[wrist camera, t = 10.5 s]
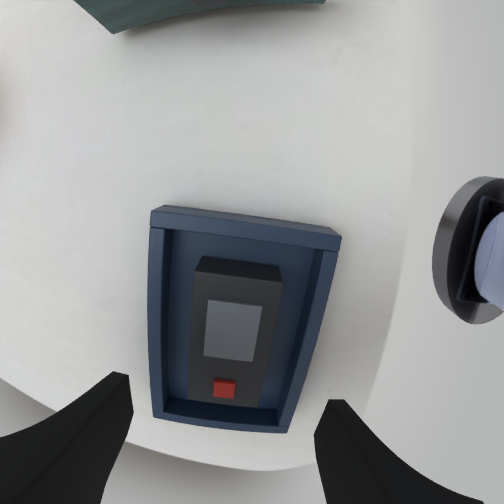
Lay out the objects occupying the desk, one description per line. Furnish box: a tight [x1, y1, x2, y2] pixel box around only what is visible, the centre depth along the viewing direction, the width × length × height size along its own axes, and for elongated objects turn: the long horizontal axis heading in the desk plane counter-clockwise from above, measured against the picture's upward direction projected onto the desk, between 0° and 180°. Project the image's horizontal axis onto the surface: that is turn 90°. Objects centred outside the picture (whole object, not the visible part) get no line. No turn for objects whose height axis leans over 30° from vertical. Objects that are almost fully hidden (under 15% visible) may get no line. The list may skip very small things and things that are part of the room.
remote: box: [187, 256, 284, 407], centre depth 14 cm, size 4×7×2 cm, turn 172°
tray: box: [147, 205, 342, 433], centre depth 14 cm, size 12×8×2 cm, turn 172°
